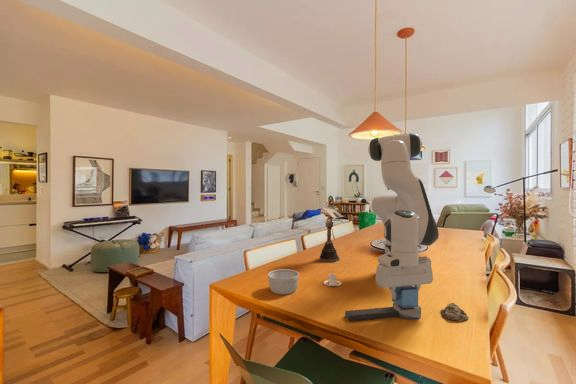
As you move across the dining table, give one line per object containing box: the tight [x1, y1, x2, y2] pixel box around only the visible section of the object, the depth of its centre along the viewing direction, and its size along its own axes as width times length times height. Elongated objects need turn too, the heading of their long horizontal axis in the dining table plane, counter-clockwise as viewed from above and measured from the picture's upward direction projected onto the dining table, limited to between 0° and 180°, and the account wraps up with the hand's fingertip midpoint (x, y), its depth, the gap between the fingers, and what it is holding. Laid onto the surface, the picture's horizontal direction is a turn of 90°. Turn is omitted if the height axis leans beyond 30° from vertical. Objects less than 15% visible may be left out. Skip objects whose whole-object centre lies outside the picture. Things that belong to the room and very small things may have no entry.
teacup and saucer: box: [323, 273, 342, 287], centre depth 123 cm, size 9×8×4 cm
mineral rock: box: [440, 302, 470, 323], centre depth 93 cm, size 11×4×8 cm
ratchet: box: [344, 302, 422, 323], centre depth 92 cm, size 26×9×6 cm, turn 99°
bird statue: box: [319, 201, 346, 263], centre depth 162 cm, size 17×13×35 cm
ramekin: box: [267, 268, 300, 296], centre depth 116 cm, size 13×13×7 cm
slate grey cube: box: [391, 285, 419, 308], centre depth 95 cm, size 6×6×6 cm
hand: (404, 297), depth 95 cm, fingers closed on slate grey cube, 6 cm apart
